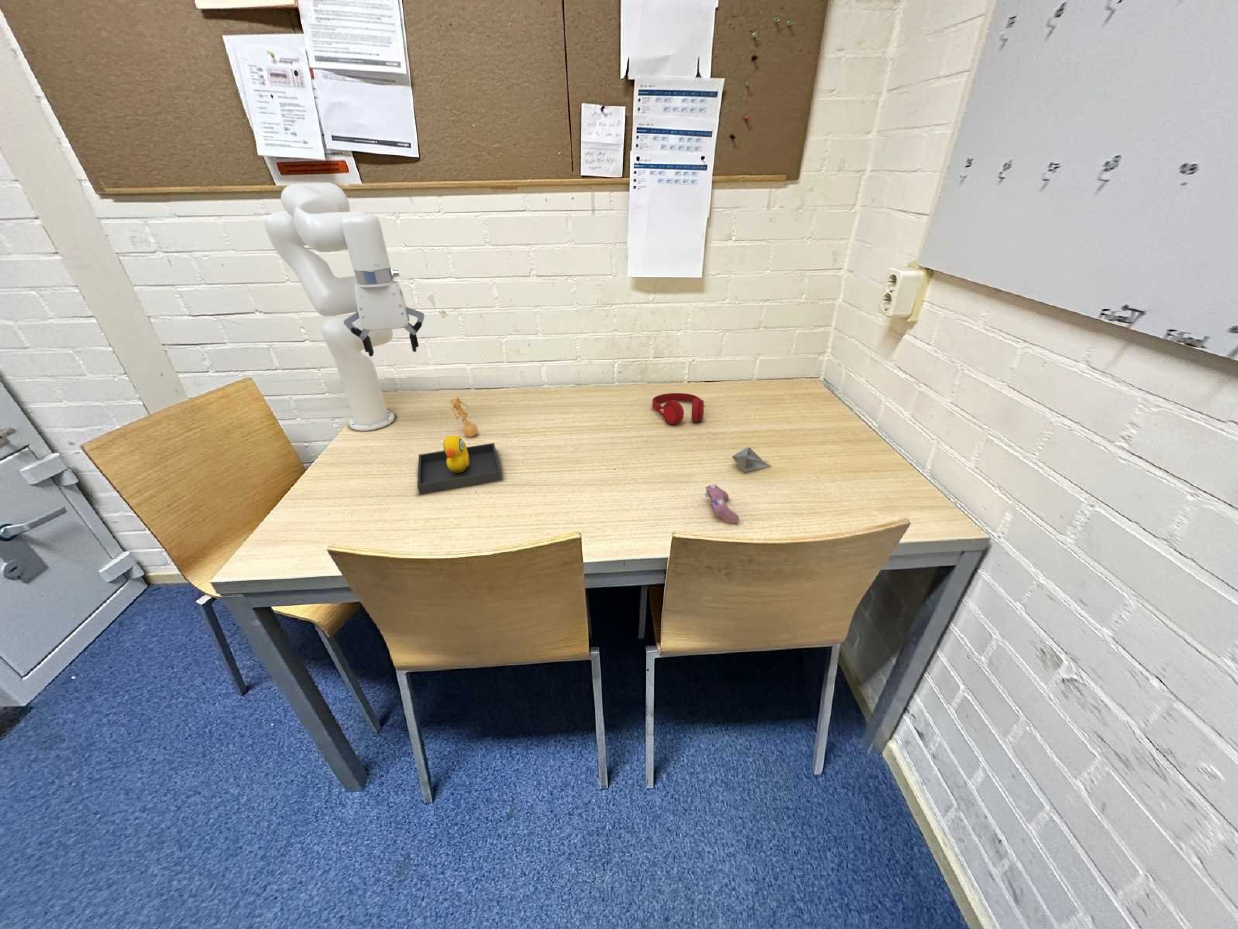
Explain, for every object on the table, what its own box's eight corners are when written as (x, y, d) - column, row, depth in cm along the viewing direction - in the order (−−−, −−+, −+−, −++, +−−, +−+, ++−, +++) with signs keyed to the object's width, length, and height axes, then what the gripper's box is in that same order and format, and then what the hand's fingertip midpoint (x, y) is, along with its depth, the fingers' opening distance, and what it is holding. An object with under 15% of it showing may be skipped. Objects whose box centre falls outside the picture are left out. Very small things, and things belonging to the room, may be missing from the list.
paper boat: (749, 450, 130) (782, 453, 124) (744, 474, 130) (777, 478, 123) (725, 441, 121) (760, 444, 115) (721, 467, 121) (755, 471, 115)
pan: (420, 463, 129) (418, 454, 127) (495, 451, 134) (494, 442, 132) (419, 494, 116) (417, 485, 115) (502, 480, 121) (500, 471, 120)
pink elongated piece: (710, 504, 114) (699, 482, 111) (728, 496, 113) (718, 474, 110) (721, 531, 106) (709, 509, 102) (741, 522, 105) (730, 499, 101)
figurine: (473, 442, 138) (466, 403, 132) (452, 442, 138) (444, 403, 132) (482, 429, 145) (475, 391, 139) (462, 429, 145) (454, 391, 139)
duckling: (466, 482, 120) (458, 446, 115) (443, 483, 119) (435, 447, 114) (474, 458, 129) (467, 424, 124) (453, 459, 129) (446, 425, 124)
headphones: (712, 423, 145) (690, 405, 163) (713, 400, 142) (690, 384, 161) (664, 428, 143) (647, 409, 161) (664, 405, 140) (646, 388, 158)
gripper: (416, 271, 114) (431, 344, 123) (334, 276, 110) (356, 351, 119) (415, 277, 108) (431, 353, 117) (328, 283, 104) (352, 361, 112)
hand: (393, 352), depth 118 cm, fingers open, 9 cm apart
